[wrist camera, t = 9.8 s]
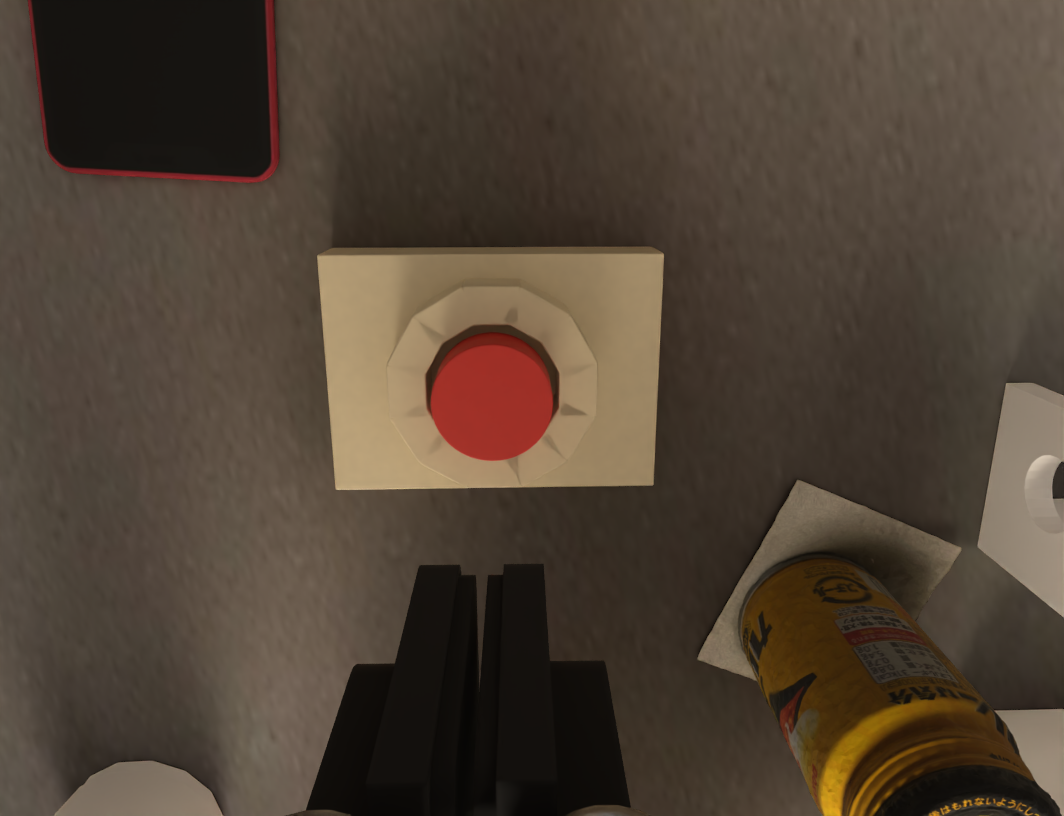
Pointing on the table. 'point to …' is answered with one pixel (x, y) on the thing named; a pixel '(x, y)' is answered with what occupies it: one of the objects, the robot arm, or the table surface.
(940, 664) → the condiment
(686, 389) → the table surface
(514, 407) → the button
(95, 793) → the foam cup
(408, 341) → the control block
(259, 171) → the smartphone
